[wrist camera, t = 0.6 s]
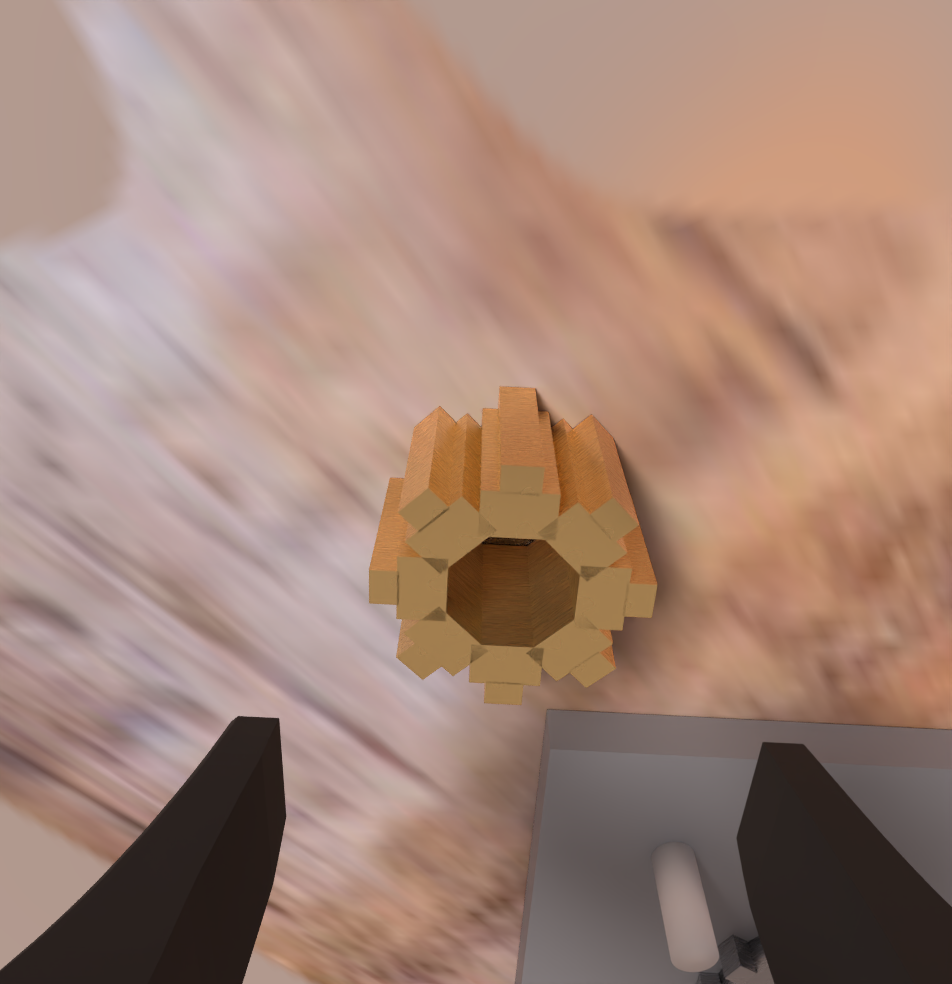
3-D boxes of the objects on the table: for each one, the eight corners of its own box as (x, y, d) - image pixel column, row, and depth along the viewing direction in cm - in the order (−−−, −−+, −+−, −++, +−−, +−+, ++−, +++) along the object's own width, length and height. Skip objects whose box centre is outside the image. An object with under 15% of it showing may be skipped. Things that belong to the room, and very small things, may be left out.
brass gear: (644, 394, 20) (677, 474, 16) (612, 602, 22) (635, 710, 19) (390, 380, 20) (368, 457, 16) (389, 591, 22) (370, 697, 19)
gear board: (1016, 733, 24) (1119, 871, 20) (887, 1015, 30) (948, 1165, 26) (546, 709, 24) (557, 844, 20) (513, 997, 30) (516, 1145, 26)
